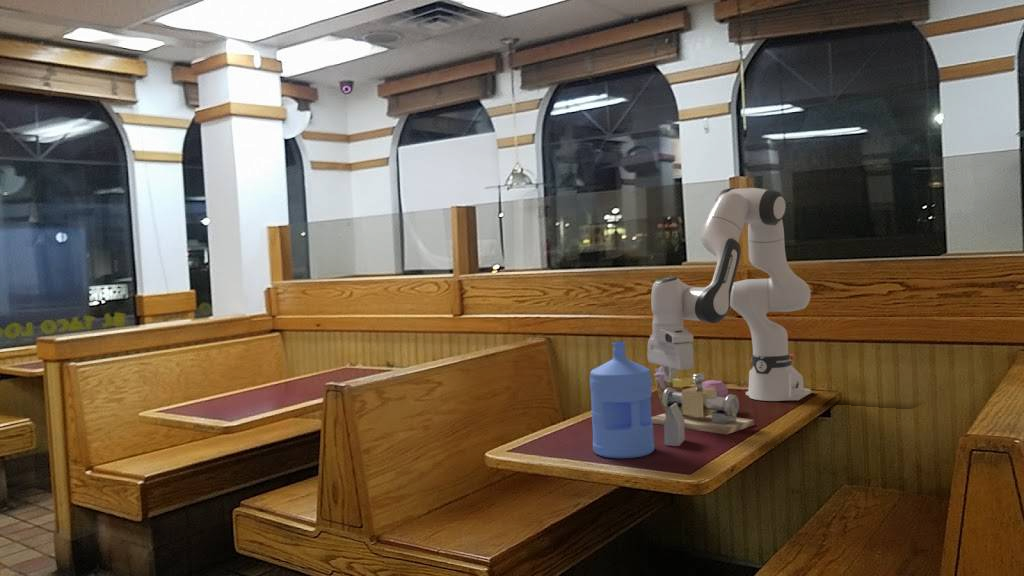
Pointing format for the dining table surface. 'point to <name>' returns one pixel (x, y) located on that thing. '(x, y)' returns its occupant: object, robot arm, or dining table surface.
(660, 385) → the ice cream cone
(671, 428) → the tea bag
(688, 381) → the lever
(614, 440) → the water jug
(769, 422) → the dining table surface
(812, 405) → the dining table surface
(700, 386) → the valve assembly
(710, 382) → the cupcake
